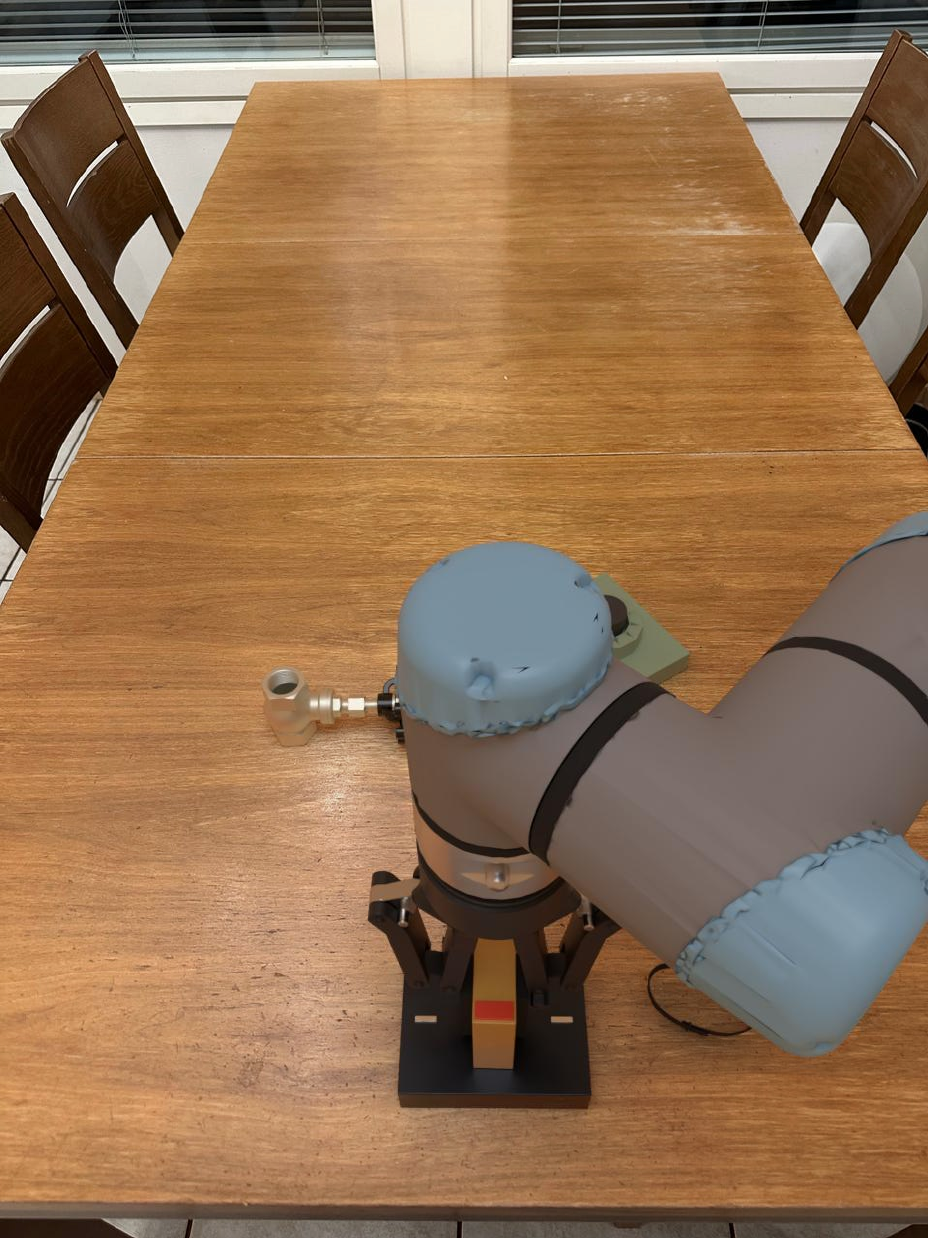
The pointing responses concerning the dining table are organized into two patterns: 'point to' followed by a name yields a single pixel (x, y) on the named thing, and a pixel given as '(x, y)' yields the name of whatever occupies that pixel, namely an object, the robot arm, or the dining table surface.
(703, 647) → the dining table surface
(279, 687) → the valve
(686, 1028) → the watch
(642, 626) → the doorbell
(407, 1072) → the plate
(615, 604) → the bell button
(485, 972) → the lock knob
